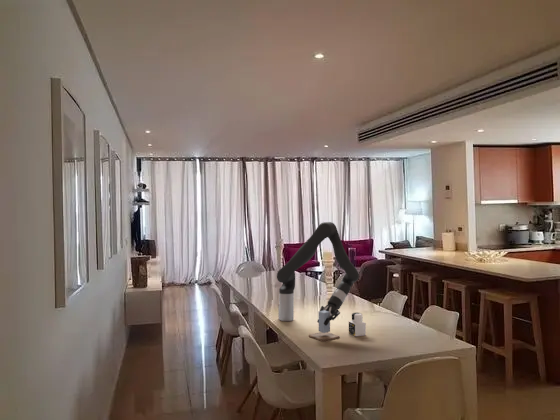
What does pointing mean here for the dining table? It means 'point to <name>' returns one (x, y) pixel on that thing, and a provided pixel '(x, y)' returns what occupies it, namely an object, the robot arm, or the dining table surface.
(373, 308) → the dining table surface
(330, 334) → the board
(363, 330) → the medicine bottle
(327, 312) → the block
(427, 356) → the dining table surface
